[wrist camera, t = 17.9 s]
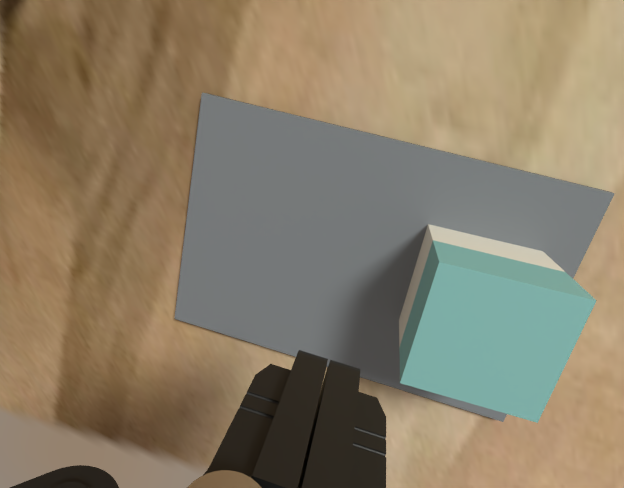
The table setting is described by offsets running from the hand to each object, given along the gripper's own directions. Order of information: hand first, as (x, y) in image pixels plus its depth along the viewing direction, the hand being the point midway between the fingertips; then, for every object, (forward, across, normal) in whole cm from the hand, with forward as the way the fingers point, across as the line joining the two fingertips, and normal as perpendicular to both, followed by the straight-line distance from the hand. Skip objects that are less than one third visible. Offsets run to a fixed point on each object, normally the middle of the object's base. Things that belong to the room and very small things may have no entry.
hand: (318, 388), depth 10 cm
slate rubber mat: (+11, -1, +1) cm, 11 cm away
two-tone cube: (+5, -5, 0) cm, 7 cm away
